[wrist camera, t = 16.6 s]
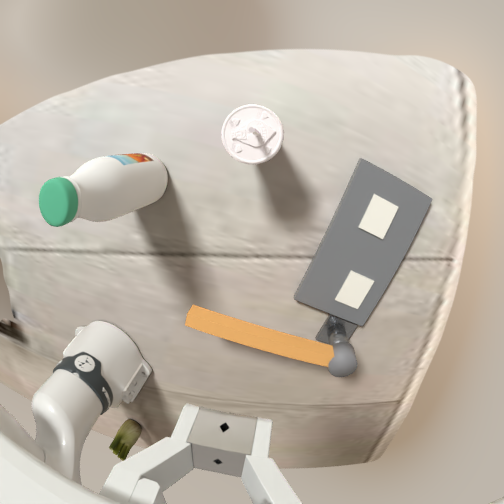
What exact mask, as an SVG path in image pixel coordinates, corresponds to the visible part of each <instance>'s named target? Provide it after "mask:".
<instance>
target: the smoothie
mask: <svg viewBox="0 0 504 504" xmlns="http://www.w3.org/2000/svg"><path fill="white" fill-rule="evenodd" d="M221 136H222V142H223V145H224V147H225V149H226V151H227V152H228V153H229V154H230V155H231V156H232V157H233V158H234V159H236V160H238V161H240V162H242V163H246V164H260V163H264V162H266V161H268V160H270V159H271V158H273V157H274V156H275V155H276V154H277V153H278V151H279V150H280V148H281V146H282V143H283V140H284V130H283V126H282V123H281V121H280V119H279V118H278V116H277V115H276V114H275V113H274V112H273V111H271V110H270V109H268V108H266V107H264V106H261V105H255V104H250V105H244V106H241V107H239V108H237V109H235V110H234V111H233V112H231V113H230V114H229V115H228V117H227V118H226V120H225V122H224V124H223V127H222V133H221Z"/></svg>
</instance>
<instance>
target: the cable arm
mask: <svg viewBox="0 0 504 504" xmlns="http://www.w3.org/2000/svg"><path fill="white" fill-rule="evenodd" d="M185 326H188V327H191V328H194V329H197V330H199V331H202V332H205V333H208V334H211V335H214V336H217V337H221V338H224V339H227V340H230V341H233V342H236V343H240V344H243V345H246V346H250V347H253V348H256V349H260V350H263V351H267V352H270V353H274V354H278V355H281V356H285V357H289V358H293V359H297V360H301V361H305V362H309V363H313V364H317V365H321V366H326V367H328V368H329V372H330V373H331V374H332V375H333V376H336V377H346V376H348V375H350V374H352V373H353V372H354V371H355V370H356V368H357V360H356V356H355V352H354V348H353V346H352V345H351V344H350V343H347V342H337V343H335V344H333V345H328V344H324V343H320V342H316V341H312V340H309V339H305V338H301V337H297V336H294V335H290V334H286V333H283V332H279V331H276V330H272V329H269V328H265V327H262V326H259V325H255V324H252V323H249V322H245V321H242V320H239V319H236V318H233V317H229V316H226V315H223V314H220V313H217V312H214V311H211V310H208V309H205V308H202V307H199V306H196V305H192V307H191V309H190V310H189V312H188V313H187V318H186V323H185Z"/></svg>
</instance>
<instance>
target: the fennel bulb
mask: <svg viewBox="0 0 504 504" xmlns="http://www.w3.org/2000/svg"><path fill="white" fill-rule="evenodd" d="M141 431H142V429H141V427H140V425H139V424H138V423H137V422H136V421H134V420H131V419H128V420H127V421H125V422H124V423H123V425H122V426H121V427H120V429H119V430H118V432H117V434H116V436H115V438H114V440H113V442H112V443H111V445H110V447H109V448H110V449H111V450H114V451H113V453H114V454H115V455H118V458H120V459H121V460H123V461H124V460H125V459H126V457H127V455H128V453H129V451H130V449H131V447H132V446H133V445H134V444H135V443H136V441H137V440H138V438H139V436H140V434H141ZM119 451H120V452H119ZM118 453H119V454H118Z"/></svg>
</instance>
